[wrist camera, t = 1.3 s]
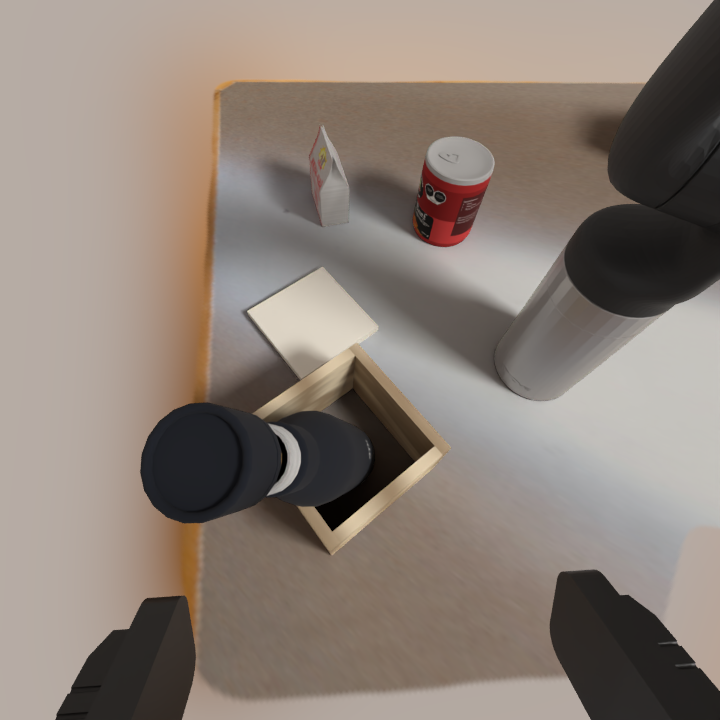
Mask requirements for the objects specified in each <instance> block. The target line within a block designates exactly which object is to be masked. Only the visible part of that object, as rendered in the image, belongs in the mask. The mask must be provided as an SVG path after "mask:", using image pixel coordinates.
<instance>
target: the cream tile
mask: <svg viewBox="0 0 720 720" xmlns="http://www.w3.org/2000/svg"><path fill="white" fill-rule="evenodd" d="M247 312H248V315H249V317H250V318H251V319H252V320H253V322H254V323H255V324H256V325H257V327H258V328H259V329H260V330H261V332H262V333H263V334H264V335H265V337H266V338H267V339H268V340H269V342H270V343H271V344H272V345H273V347H274V348H275V349H276V350H277V352H278V353H279V354H280V355H281V357H282V358H283V359H284V360H285V362H286V363H287V364H288V365H289V367H290V368H291V369H292V370H293V372H294V373H295V374H296V375H297V377H298V378H299V379H300V380H302V379H304V378H305V377H307V376H308V375H310V374H311V373H313V372H314V371H315V370H317V369H318V368H320V367H321V366H323V365H324V364H326V363H327V362H329V361H330V360H332V359H333V358H335V357H336V356H338V355H339V354H340V353H342V352H343V351H345V350H346V349H348V348H349V347H351V346H352V345H354V344H355V343H358V344H359V343H361V342H362V341H364V340H365V339H367V338H368V337H370V336H371V335H372V334H374V333H375V332H377V331H378V327H379V326H378V325H377V324H376V323H375V322H374V321H373V320H372V319H371V318H370V317H369V316H368V315H367V313H366V312H365V311H364V310H363V309H362V308H361V307H360V306H359V305H358V304H357V303H356V302H355V301H354V300H353V298H352V297H351V296H350V295H349V294H348V293H347V292H346V291H345V290H344V289H343V288H342V287H341V286H340V285H339V284H338V282H337V281H336V280H335V279H334V278H333V277H332V276H331V275H330V274H329V273H328V272H327V271H326V270H325V269H324V268H323V267H321V268H319V269H318V270H316V271H314V272H312V273H311V274H309V275H307V276H306V277H304V278H302V279H301V280H299V281H297V282H296V283H294V284H292V285H290V286H289V287H287V288H285V289H284V290H282V291H280V292H279V293H277V294H275V295H273V296H272V297H270V298H268V299H267V300H265V301H263V302H262V303H260V304H258V305H257V306H255V307H253V308H251V309H250V310H248V311H247Z"/></svg>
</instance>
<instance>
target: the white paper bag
mask: <svg viewBox="0 0 720 720" xmlns="http://www.w3.org/2000/svg"><path fill="white" fill-rule="evenodd" d="M309 160H310V174H311V188H312V194H313V198H314V201H315V205H316V208H317V211H318V215H319V218H320V221H321V225H322V227H325V226H331V225H337V224H343V223H349V185H348V182H347V179H346V177H345V174H344V171H343V168H342V165H341V162H340V160H339V157H338V154H337V151H336V150H335V148H334V146H333V145H332V143H331V141H330V140H329V138H328V136H327V134H326V132H325V129H324V126H323V128H322V127H321V125H320V127H319V132H318V135H317V138H316V141H315V143H314V145H313V148H312V150H311V153H310V155H309Z"/></svg>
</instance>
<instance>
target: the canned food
mask: <svg viewBox="0 0 720 720" xmlns="http://www.w3.org/2000/svg"><path fill="white" fill-rule="evenodd" d="M493 168H494V158H493V156H492V154H491V152H490V151H489V150H488V149H487V148H486V147H485V146H483V145H482V144H480V143H479V142H476V141H474V140H471V139H469V138H464V137H456V136H454V137H445V138H441V139H438V140H436V141H435V142H433V143H432V144H431V145H430V146H429V148H428V150H427V153H426V156H425V161H424V165H423V170H422V175H421V180H420V185H419V190H418V195H417V200H416V205H415V210H414V215H413V225H414V229H415V231H416V233H417V235H418V236H419V237H420V238H421V239H423V240H424V241H426V242H427V243H429V244H432V245H435V246H441V247H449V246H454V245H456V244H459V243H460V242H462V241H463V240H464V239H465V238H466V237H467V235H468V234H469V232H470V230H471V227H472V225H473V222H474V220H475V217H476V214H477V212H478V209H479V207H480V204H481V202H482V199H483V196H484V194H485V191H486V189H487V186H488V184H489V181H490V178H491V175H492V173H493Z"/></svg>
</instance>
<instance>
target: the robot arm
mask: <svg viewBox="0 0 720 720" xmlns="http://www.w3.org/2000/svg"><path fill="white" fill-rule="evenodd" d="M608 175H609V179H610V182H611V183H612V185H613V186H614V187H615V188H616V190H618V191H619V192H620V193H622V194H623V195H624V196H626V197H628V198H629V199H631V200H633V201H635V202H638V203H640V204H623V205H615V206H610V207H607V208H604V209H601V210H599V211H597V212H595V213H594V214H592V215H591V216H589V217H588V218H587V219H586V220H585V221H584V222H583V223H582V224H581V225H580V226H579V228H578V229H577V230H576V232H575V233H574V235H573V236H572V238H571V239H570V240H569V242H568V243H567V245H566V246H565V248H564V249H563V251H562V252H561V254H560V255H559V256H558V258H557V259H556V261H555V262H554V264H553V265H552V267H551V268H550V270H549V271H548V273H547V274H546V276H545V277H544V278H543V280H542V281H541V283H540V284H539V286H538V287H537V289H536V290H535V291H534V293H533V294H532V296H531V297H530V299H529V300H528V302H527V303H526V304H525V306H524V307H523V309H522V310H521V312H520V313H519V315H518V316H517V317H516V319H515V320H514V322H513V323H512V324H511V326H510V327H509V329H508V330H507V332H506V333H505V335H504V336H503V337H502V339H501V340H500V342H499V343H498V345H497V348H496V350H495V356H494V359H495V366H496V369H497V372H498V374H499V376H500V378H501V379H502V381H503V382H504V383H505V384H506V385H507V386H508V387H509V388H510V389H511V390H512V391H514V392H515V393H517V394H519V395H520V396H522V397H525V398H528V399H531V400H537V401H548V400H552V399H556V398H558V397H559V396H561V395H563V394H564V393H565V392H567V391H568V390H569V389H570V388H572V387H573V386H574V385H575V384H577V383H578V382H579V381H581V380H582V379H583V378H584V377H586V376H587V375H588V374H589V373H591V372H592V371H593V370H594V369H596V368H597V367H598V366H599V365H601V364H602V363H603V362H604V361H606V360H607V359H608V358H609V357H611V356H612V355H613V354H614V353H616V352H617V351H618V350H619V349H621V348H622V347H623V346H624V345H626V344H627V343H628V342H629V341H631V340H632V339H633V338H634V337H636V336H637V335H638V334H639V333H641V332H642V331H643V330H644V329H645V328H647V327H648V326H649V325H650V324H652V323H653V322H654V321H655V320H657V319H658V318H659V317H660V316H662V315H663V314H664V313H665V312H667V311H668V310H669V309H670V308H672V307H673V306H674V305H675V304H678V303H681V302H684V301H687V300H689V299H691V298H693V297H695V296H697V295H698V294H700V293H701V292H703V291H704V290H705V289H707V288H708V287H710V286H711V285H712V284H714V283H715V282H716V281H718V280H719V279H720V0H714V1H713V2H712V3H711V4H710V6H709V7H708V8H707V9H706V10H705V12H704V13H703V14H702V15H701V16H700V18H699V19H698V20H697V21H696V22H695V23H694V25H693V26H692V27H691V28H690V29H689V31H688V32H687V33H686V34H685V35H684V37H683V38H682V39H681V40H680V41H679V43H678V44H677V45H676V46H675V48H674V49H673V50H672V51H671V53H670V54H669V55H668V56H667V58H666V59H665V60H664V61H663V62H662V64H661V65H660V66H659V67H658V69H657V70H656V72H655V73H654V74H653V75H652V77H651V78H650V79H649V81H648V82H647V83H646V85H645V86H644V88H643V89H642V90H641V92H640V93H639V95H638V96H637V98H636V99H635V101H634V102H633V104H632V105H631V107H630V109H629V110H628V112H627V114H626V116H625V117H624V119H623V121H622V123H621V125H620V127H619V128H618V131H617V133H616V135H615V138H614V140H613V143H612V146H611V149H610V153H609V157H608ZM550 635H551V640H552V644H553V647H554V650H555V653H556V655H557V657H558V659H559V661H560V663H561V665H562V667H563V669H564V670H565V672H566V674H567V676H568V678H569V680H570V682H571V684H572V685H573V687H574V689H575V691H576V693H577V694H578V697H579V698H580V700H581V702H582V704H583V706H584V708H585V710H586V711H587V713H588V715H589V717H590V719H591V720H720V691H719V690H718V689H717V687H716V686H715V685H714V684H713V683H712V682H711V680H710V679H709V678H708V677H707V676H706V674H705V673H704V672H703V671H702V670H701V669H700V668H697V667H696V665H695V661H694V660H693V659H692V658H691V657H690V656H689V654H688V653H687V652H686V651H685V650H684V648H683V647H682V646H679V645H678V644H677V640H676V639H675V638H674V637H673V635H672V634H671V633H670V632H669V631H668V630H667V628H666V627H665V626H664V625H663V624H662V623H661V621H660V620H659V619H658V618H657V617H656V615H654V614H653V613H652V612H650V611H649V610H648V609H646V608H645V607H644V606H642V605H641V604H640V603H638V602H637V601H636V600H634V599H633V598H632V597H630V596H629V595H619V594H618V592H617V591H616V590H615V589H614V587H613V586H612V585H611V584H610V582H609V581H608V580H607V579H606V577H605V576H604V575H603V574H602V573H601V572H599V571H598V570H581V571H566V572H561V573H560V574H559V575H558V578H557V584H556V590H555V596H554V602H553V607H552V613H551V619H550ZM195 660H196V652H195V644H194V638H193V632H192V626H191V619H190V613H189V607H188V602H187V598H186V597H185V596H172V597H157V598H147V599H145V600H144V601H143V602H142V604H141V606H140V608H139V610H138V612H137V614H136V616H135V618H134V620H133V622H132V624H131V626H130V628H129V629H125V630H113V631H112V632H111V633H110V634H109V635H108V636H107V638H106V639H105V640H104V641H103V642H102V643H101V644H100V645H99V646H98V647H97V648H96V649H95V650H94V652H92V653H91V654H90V655H89V657H88V658H87V660H86V662H85V664H84V665H83V667H82V669H81V671H80V673H79V674H78V676H77V678H76V680H75V682H74V684H73V685H72V687H71V692H70V694H67V696H66V698H65V700H64V702H63V704H62V706H61V707H60V709H59V711H58V713H57V717H56V720H182V717H183V714H184V710H185V707H186V703H187V700H188V696H189V693H190V689H191V686H192V681H193V677H194V671H195Z"/></svg>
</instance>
